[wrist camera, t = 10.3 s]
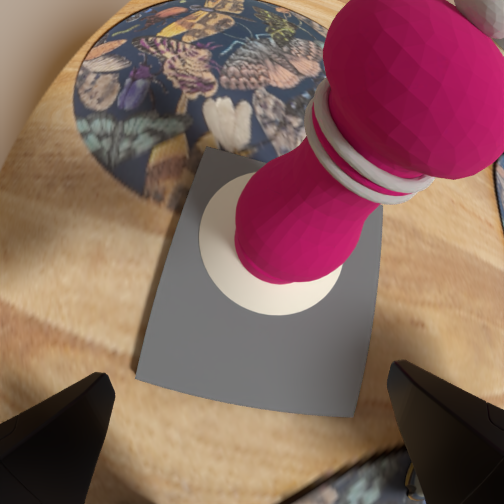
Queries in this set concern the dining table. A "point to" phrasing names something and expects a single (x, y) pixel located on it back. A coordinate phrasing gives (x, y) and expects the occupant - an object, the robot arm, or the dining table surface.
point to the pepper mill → (377, 130)
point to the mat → (256, 312)
